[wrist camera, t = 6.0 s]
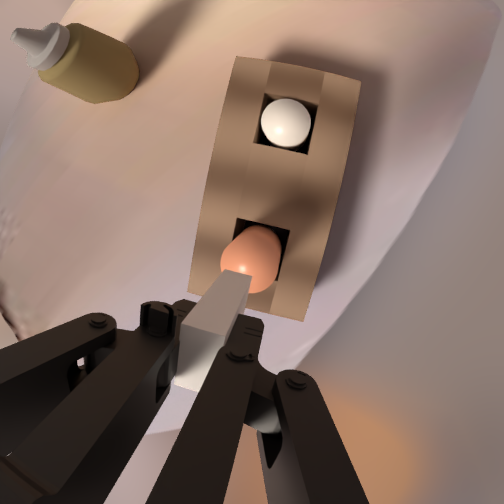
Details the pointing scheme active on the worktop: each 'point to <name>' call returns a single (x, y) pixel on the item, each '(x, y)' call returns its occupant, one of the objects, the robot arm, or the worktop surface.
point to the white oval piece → (286, 124)
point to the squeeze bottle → (80, 61)
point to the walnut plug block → (275, 178)
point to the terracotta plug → (254, 256)
